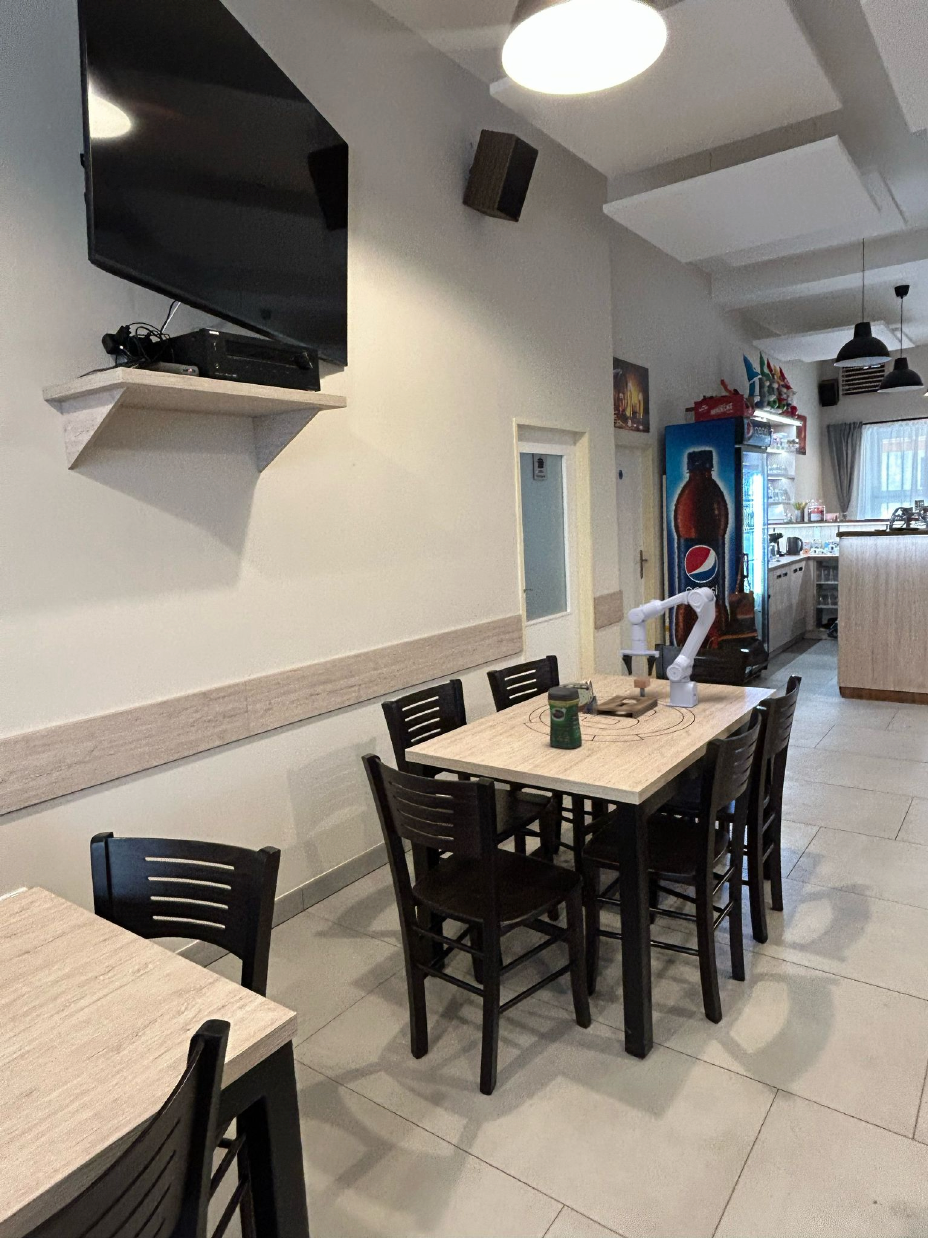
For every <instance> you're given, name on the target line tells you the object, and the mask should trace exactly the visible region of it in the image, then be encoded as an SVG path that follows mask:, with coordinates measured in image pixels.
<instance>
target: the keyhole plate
mask: <svg viewBox="0 0 928 1238" xmlns="http://www.w3.org/2000/svg"><path fill="white" fill-rule="evenodd" d="M647 697H648V696H645V697H640V696H631V695H618V694H616V695H615V696H613V697H611V698H608V699H606V700H605V701H603V702H601V703H599V704H597V705H594V706H593V708H592V709H593V715H594V714H596V715H595V716H597V714H598V715H600V714H602V713H603V711H604V712H605V711H609V712H610V711H611V712H619V713H621V712H622V713H632V719H638V718H639V716H640V717H641V716H643V715H644V714H647V713H648V712H650V711H652V710H653V709H655V708H656V707H658V705H659V704H658V703H659V702H658V697H649V698H647ZM625 700H630V701H631V700H632V702H630V703H628V704H626V705H624V706H621V705H623V704H624V701H625ZM636 700H640V701H638V702H637V701H636ZM633 701H635V702H633ZM637 717H638V718H637Z"/></svg>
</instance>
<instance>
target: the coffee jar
mask: <svg viewBox="0 0 928 1238" xmlns="http://www.w3.org/2000/svg"><path fill="white" fill-rule="evenodd" d="M579 701H580V697H579V692H578V689H577V688H569V687H558V686H553V687H550V688H549V689H548V692H547V704H548V706H549V715H550V716H549V718H550V720H549V721H550V722H549V744H550V746H551V747H553V748H558V749H573V748H575V749H577V748H579V747H581V745H582V744H583V739H582V731H581V723H580V716H579V713H578V705H579Z"/></svg>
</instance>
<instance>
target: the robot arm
mask: <svg viewBox="0 0 928 1238" xmlns="http://www.w3.org/2000/svg"><path fill="white" fill-rule="evenodd" d="M716 600H717V598H716V596H715V593H714V592H713V590H712V589H711V588H709V587H705V586H703V587H701V588H697V589H691V590H687V591H684V592H681V593H678V594H676V595H674V596H672V597H669V598H667V599H665V600H662V601H661V600H659V599H651V600H649V602H648V603H645V604H640V605H639V607H636V608H632V609H631V610H629V611H628V613H627V619H628V621H629V623H630V640H631V649H627V650H626V649H623V650H622V649H621V650H620V651H619V656H620V657H622V658H621V660H622V661H623V663H624V665H625V667H626V671H627V674H628V676H632V675H633V665H632V664H633V657H647V658H646V662H647V675H648V677H651V676H653V670H654V666H655V663H656V661H657V660H658V657H660V651H659V650H648V641H647V640H648V639H647V638H648V637H647V621H649V620H652V619H655V618H656V617H659V616H662V615H664V614H665V611H666V610H667V609H670V608H672V607H675V606H677V605H682V604H683V605H684V604H685V605H690V606H691V608H692V609H693V610H694V611H695V612H696V615H697V617H698V618H697V620H696V622H695V624H694V626H693V628H692V630H691V632H690V634H689V636H688V637H687V639H686V642H685V644H684V646H683V648H682V649H681V651H680V653H679V655H678V656H676V659H675V660H674V661H673V663H672V664H671V665H669V666H668V667H667V669H666V676H667V678H668V679H669V701H670V702H668V703H667V704H666V706H668V707H680V708H693V707H694V706H696V705H698V704H699V700H698V697H699V696H698V695H699V694H698V685H697V682H696V681H691V679H690V678H691V677H690V676H691V675H692V673H693V665H694V664H695V662H694V661H695V660H694V659H695V657H696V655H697V653H698V651H699V649H700V647H702V646H701V645H702V643H703V642H704V640H705V638H706V636H707V634H708V632H709V630H710V628H711V626H712V625H713V623H714V621H715V618H716Z"/></svg>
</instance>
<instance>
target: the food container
mask: <svg viewBox="0 0 928 1238" xmlns="http://www.w3.org/2000/svg"><path fill="white" fill-rule="evenodd" d="M557 687H569V688H577V689H578V692H579V697H580V701H579V705H578V714H582V713H581V712H583V710H584V708H585V707H586V705H587V704H589V703H590V691H592V688H591V685H590V684H589V683H584V682H567V683H562V684H559V685H557ZM589 705H590V704H589Z"/></svg>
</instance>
